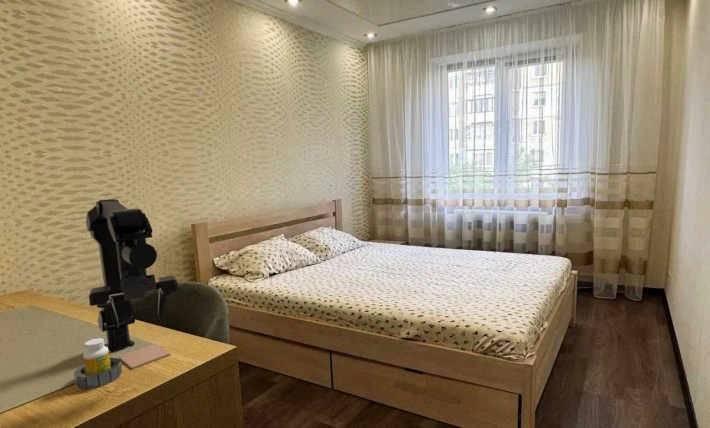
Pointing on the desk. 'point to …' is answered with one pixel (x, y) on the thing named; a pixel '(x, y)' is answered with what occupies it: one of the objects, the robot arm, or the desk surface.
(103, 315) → the robot arm
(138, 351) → the terracotta pad
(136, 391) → the desk surface
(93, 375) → the grey segmented ring
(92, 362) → the supplement bottle
